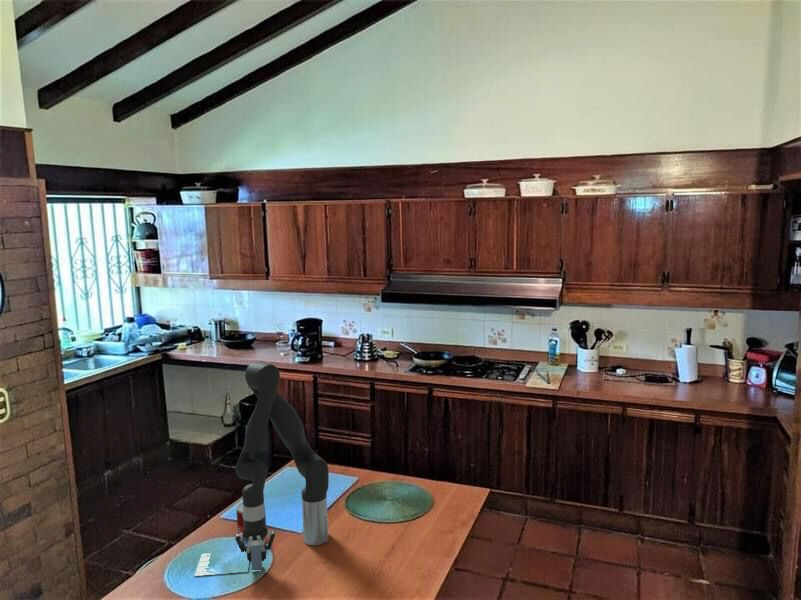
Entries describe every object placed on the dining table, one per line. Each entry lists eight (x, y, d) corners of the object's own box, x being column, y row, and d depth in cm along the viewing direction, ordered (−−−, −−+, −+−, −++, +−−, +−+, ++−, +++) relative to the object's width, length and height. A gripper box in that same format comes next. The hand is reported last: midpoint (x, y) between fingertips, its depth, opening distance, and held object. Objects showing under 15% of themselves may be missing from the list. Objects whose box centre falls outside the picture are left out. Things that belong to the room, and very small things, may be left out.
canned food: (253, 539, 228) (252, 512, 226) (234, 537, 230) (232, 510, 228) (262, 528, 235) (260, 502, 234) (243, 526, 237) (241, 500, 235)
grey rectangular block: (262, 566, 212) (260, 534, 209) (261, 571, 208) (259, 539, 206) (253, 566, 211) (251, 535, 209) (252, 572, 208) (250, 540, 206)
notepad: (252, 550, 221) (252, 549, 221) (248, 572, 208) (247, 571, 208) (201, 554, 219) (201, 553, 218) (194, 577, 206) (194, 575, 206)
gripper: (276, 507, 211) (278, 552, 214) (234, 510, 209) (237, 555, 212) (274, 519, 203) (276, 565, 206) (231, 522, 202) (234, 568, 205)
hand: (256, 560), depth 209 cm, fingers open, 3 cm apart
